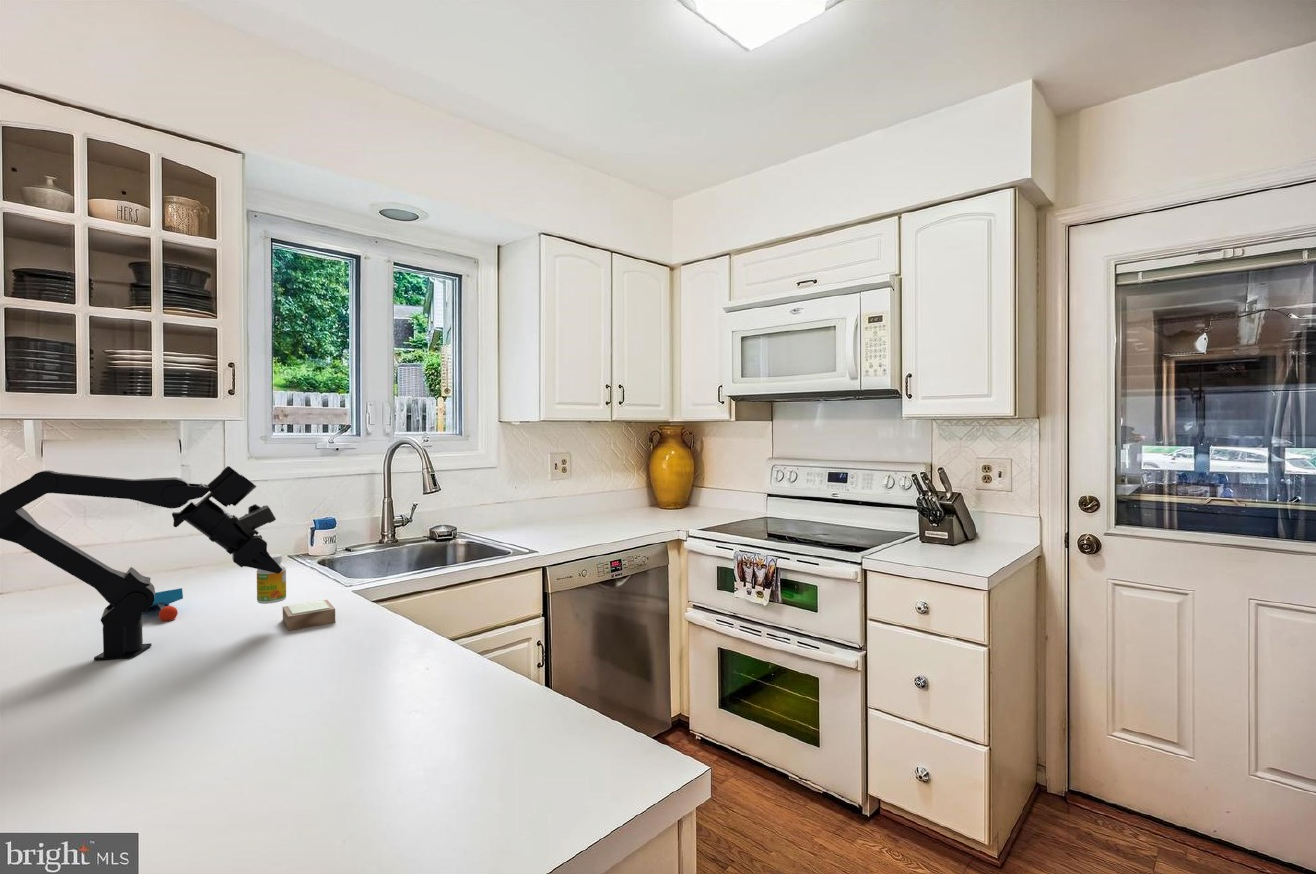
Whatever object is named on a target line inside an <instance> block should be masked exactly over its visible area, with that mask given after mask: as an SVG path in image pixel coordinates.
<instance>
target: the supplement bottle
mask: <svg viewBox="0 0 1316 874" xmlns="http://www.w3.org/2000/svg"><path fill="white" fill-rule="evenodd" d="M269 554H270V553H269ZM270 556H271V557H272V558H273V559H274V561H275V562H276V563H277V564H278V565H279V566H280V567H281V568H282V571H281V572H280V573H279V574H278V573H273V572H269V571H265V570H260V569H256V601H257V603H258V604H262V605H266V604H277V603H280V602H283V601H285V600H286V598H287V567H286V565H285V564H283V563H282V562H283V555H282V554H281V553H271V554H270Z"/></svg>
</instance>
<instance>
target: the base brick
mask: <svg viewBox="0 0 1316 874" xmlns="http://www.w3.org/2000/svg"><path fill="white" fill-rule="evenodd" d="M282 622H283V623H284V625H285V627H286V629H287V631H294V630H299V629H305V628H309V627H310V628H311V627H318V626H321V625H327V624H332V623H333V624H334V623H336V608H335V607H334V605H332V603H331V602H330V601H329V600H328V599H324V600H317V601H312V602H304V603H299V604H298V603H297V604H291V605H286V606H282Z"/></svg>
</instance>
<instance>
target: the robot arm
mask: <svg viewBox="0 0 1316 874" xmlns="http://www.w3.org/2000/svg"><path fill="white" fill-rule="evenodd" d="M256 488H257V485H256V484H254V483H253V482H252V481H250V480H249V479H248V478H247V477H245V476H244V475H242V474H240V473H239V472H238V471H236V470H235V469H233V468H232V467H231V466H229V465H226V467H224V468H223V469H222V471H221V472H220V473H219V474H218V475H217V476H216V477H215V478H214V479H213V480H211V481H209V483H208V484H203V483H202V482H201V483H189V482H187V480H185V479H183V478H182V477H181V478H180V477H153V478H139V479H138V478H137V479H134V478H133V479H131V478H120V477H110V476H102V475H100V476H99V475H88V474H77V473H66V472H57V471H54V470H51V469H50V470H42V471H39V472H36V473H35V474H33V475H31V476H30V478H28V479H26V480H24V481H22V482H20V483H18V484H17V485H15V486H13V487H11V488H10V489H9V488H8V490H5V491H3V492H1V493H0V539H1V540H4V541H7V542H12V543H15V544H17V545H20V546H21V547H22V548H24V549H26V550H27V551H29V552H31V553H33V554H35V555H36V556H39V558H41V559H43V560H45V561H46V562H49V563H51V564H52V565H54V566H56V567H57V568H59V569H61V570H63V571H64V572H65V573H68V574H69V575H71V576H73V577H74V578H76V579H78V580H80V581H81V582H84V583H85V584H87V585H89V586H91V587H92V588H94V589H95V590H96V591H97V592H98V593H99V594H100V595H101V596H102V597H103V598H104V600H105V601H106V602H107V603H108V605H107V606H106V607H105V608H104V609H103V612H102V615H101V618H100V622H101V624H102V645H103V647H102V650H103V651H102V652H101V653H99V654H98V655H95V656H94V657H93V660H94V661H98V660H99V661H100V660H111V659H112V660H113V659H124V658H125V659H126V658H127V659H128V658H129V659H130V658H134V657H136V656H138V655H139V654H141V653H143V652H144V651H146V650H147V649H149V648H150V647H152V643H144V641H143V638H144V637H143V616H142V614H144V613H146V612H147V611H148V610H150V609H151V608H152V607H151V606H152V605H153V602H154V598H155V593H156V588H155V586H154V584H153V583H152V582H151V580H152V579H151V577H150V576H145V575H143V574H141V573H140V572H138V570H136V569H135V568H134V567H132V566H131V567H129V568H128V570H127V571H126V572H124V571H121V570H116V569H115V568H111V567H110V566H109V565H107V564H105V563H103V562H102V561H100V560H99V559H97V558H95V557H94V556H92V555H90V554H89V553H87V552H85V551H84V550H82V549H80V548H78V547H76V546H75V545H74V544H72V543H70V542H68V541H67V540H65V539H63V538H61V537H60V536H58V535H57V534H55V533H54V532H52V531H50V530H49V529H47V528H45V527H43V526H42V525H40V524H39V523H38V522H37V521H36V519H35V518H33V516H31V515H30V513H29V512H28V511H27V510H26V509H24V508H23V507H25V506H27V505H29V504H30V503H32V502H34V501H36V500H38V499H40V498H42V497H43V496H44V495H46V494H60V495H73V496H84V497H85V496H86V497H99V498H108V499H109V498H110V499H111V498H112V499H124V500H125V499H127V500H131V501H132V500H133V501H136V502H141V503H144V504H147V505H151V506H157V507H161V508H166V509H179V508H181V507H183V506H185V505H186V504H187V503H189V504H187V505H186V506H185V507H184V508H183V509H182V510H180V511H177V512H174V511H173V512H172V513H171V516H172V518H173V524H172V525H173V528H177V527H179V526H180V525H181V524H182V523H184V522H186V523H187V524H189V525H190V526H192V527H193V528H195V529H196V530H197V531H199V532H200V533H201V534H203V535H204V536H205V537H207V538H208V540H209V541H211V542H213V543H216V544H217V545H219V546H220V547H221V548H222V549H224V550H225V551H226V552H227V553H228V554H229V555H232V556H231V557H232V558H231V559H232V561H233V563H235V564H236V565H237V566H239V567H240V568H243V567H247V568H251V569H255V570H257V569H260V570H265V571H269V572H273V573H278V574H279V573H280V572H281V571H282V568H281V567H280V566H279V565H278V564H277V563H276V562H275V561H274V559H273V558H272V557H271V556H270V553H269V552H268V549H267V548H268V542H267V541H266V540H265V539H263V536H262V535H261V534H260V532H259V531H258V530H257V529H258V528H260V527H262V526H264V525H266V524H271V523H273V522H275V521H276V520H277V518H276V517H275V515H274V513H273V511H272V510H271V508H270V506H269V505H262V506H260V505H258V504H252V505H250V506H248V509H247V510H248V511H247V512H248V513H245V514H244V515H243V516H240V517H238V516H237V515H235V514H233V515H232V514H230V513H228V512H227V511H226V510H225V509H223V508H222V507H220V506H219V505H218V504H217V503H215V502H213V501H212V500H211V498H213V499H214V500H215V501H217V502H218V503H219V504H220V505H222V506H223V507H225V508H227V507H228V506H229V507H230V506H231V505H232V506H233V507H236V506H237V505H238V504H239V503H241V502H242V501H243V499H244V498H246V497H247V496H248V495H249V494H250V493H251V492H253V491H254V490H255V489H256ZM207 493H208V494H207ZM206 494H207V495H206ZM201 498H202V499H201ZM196 499H200V501H198V502H197V503H195V502H192V501H191V500H196ZM189 501H191V502H189Z"/></svg>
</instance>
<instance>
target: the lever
mask: <svg viewBox="0 0 1316 874" xmlns="http://www.w3.org/2000/svg"><path fill="white" fill-rule="evenodd" d="M183 599H184V593H183V588H182V587H181V588H174V589H170V590H169V589H168V590H163V591H158V592H156V591H155V598H154V602H153V605H152V606H151V607H150V608H153V607H154V605H155V607H159V608H160V611H159V612H158V618H159V619H160V620H161V621H162V622H170V620H171V621H173V620H175V619H176V618H177V616H178V609H177V607H175V606H172V605H170V604H172V603H175V602H177V601H180V600H183ZM165 604H166V605H167V606H166V605H165Z"/></svg>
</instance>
